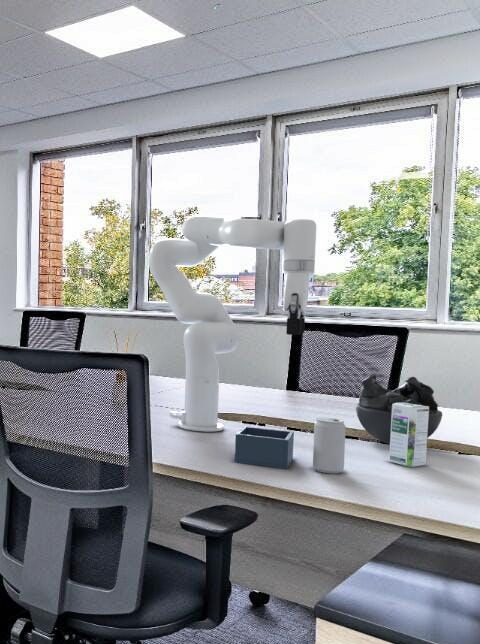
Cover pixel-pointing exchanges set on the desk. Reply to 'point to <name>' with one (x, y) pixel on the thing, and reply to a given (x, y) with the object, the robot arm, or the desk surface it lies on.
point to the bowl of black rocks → (379, 401)
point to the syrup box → (408, 434)
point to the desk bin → (264, 447)
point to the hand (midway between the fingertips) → (295, 333)
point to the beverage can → (329, 445)
